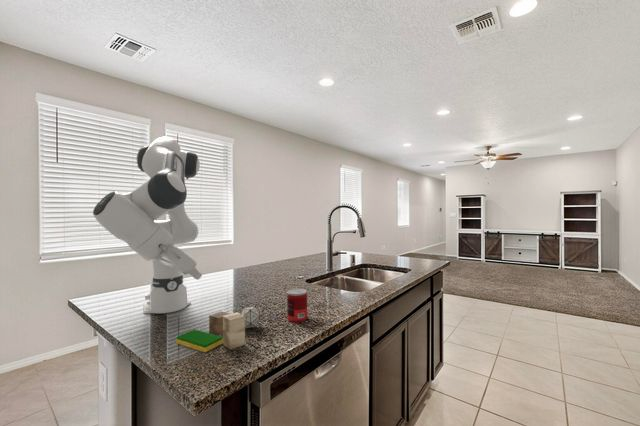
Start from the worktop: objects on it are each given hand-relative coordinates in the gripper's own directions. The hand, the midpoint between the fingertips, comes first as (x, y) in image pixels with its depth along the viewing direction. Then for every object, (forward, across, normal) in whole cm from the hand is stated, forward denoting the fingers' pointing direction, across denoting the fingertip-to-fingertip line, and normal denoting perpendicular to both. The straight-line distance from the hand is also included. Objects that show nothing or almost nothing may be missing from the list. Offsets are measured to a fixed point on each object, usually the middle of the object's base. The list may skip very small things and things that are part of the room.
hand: (193, 274), depth 84 cm
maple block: (+26, 0, +8) cm, 27 cm away
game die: (+33, +8, +1) cm, 34 cm away
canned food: (+46, +3, -11) cm, 47 cm away
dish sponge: (+21, +9, +14) cm, 27 cm away
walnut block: (+26, +13, +8) cm, 30 cm away
